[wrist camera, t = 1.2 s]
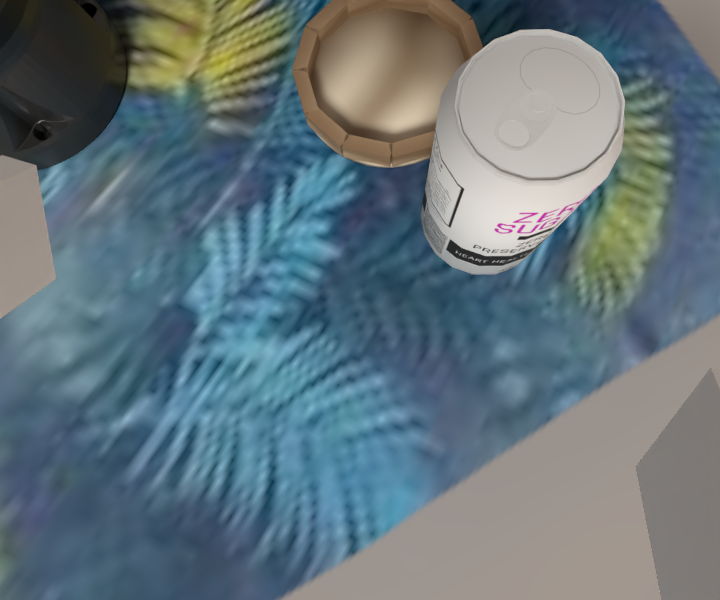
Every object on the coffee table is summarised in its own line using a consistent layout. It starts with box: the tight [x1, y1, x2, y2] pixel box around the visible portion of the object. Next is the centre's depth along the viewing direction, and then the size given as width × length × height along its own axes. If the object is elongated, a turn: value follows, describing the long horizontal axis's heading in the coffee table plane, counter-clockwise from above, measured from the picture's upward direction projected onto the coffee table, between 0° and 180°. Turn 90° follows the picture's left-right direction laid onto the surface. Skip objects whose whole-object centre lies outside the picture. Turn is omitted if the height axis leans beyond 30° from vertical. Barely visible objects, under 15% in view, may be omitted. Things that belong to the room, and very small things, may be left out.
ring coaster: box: [292, 0, 483, 168], centre depth 39 cm, size 13×13×2 cm
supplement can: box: [421, 29, 625, 274], centre depth 30 cm, size 8×8×15 cm
